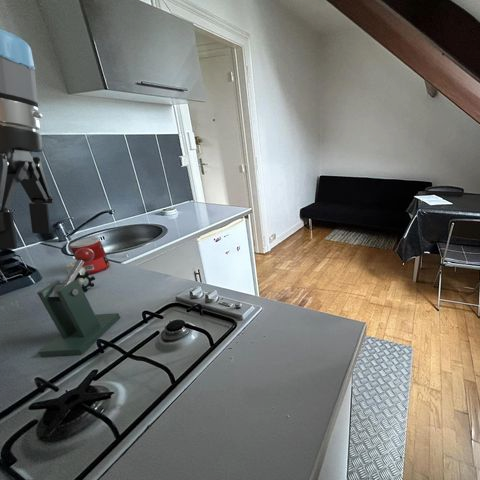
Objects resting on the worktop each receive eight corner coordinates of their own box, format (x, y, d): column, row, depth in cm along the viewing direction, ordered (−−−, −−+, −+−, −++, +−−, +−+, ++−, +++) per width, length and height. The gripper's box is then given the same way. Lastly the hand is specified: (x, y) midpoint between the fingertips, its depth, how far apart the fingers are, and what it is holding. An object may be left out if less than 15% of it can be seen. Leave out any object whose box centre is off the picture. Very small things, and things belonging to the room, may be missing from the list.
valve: (67, 283, 86) (71, 296, 78) (58, 265, 83) (62, 277, 75) (92, 275, 90) (99, 287, 82) (85, 258, 87) (90, 268, 80)
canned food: (114, 266, 95) (102, 239, 91) (87, 276, 89) (74, 247, 85) (105, 262, 99) (94, 235, 95) (79, 271, 93) (65, 243, 89)
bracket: (85, 319, 67) (62, 273, 62) (120, 317, 67) (99, 271, 62) (40, 357, 56) (7, 304, 51) (82, 354, 56) (53, 301, 51)
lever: (86, 253, 66) (75, 245, 63) (100, 252, 66) (90, 244, 63) (57, 302, 58) (42, 295, 55) (73, 301, 58) (59, 294, 55)
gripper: (-2, 119, 39) (17, 256, 43) (65, 138, 60) (73, 228, 65) (-82, 108, 35) (-53, 258, 40) (19, 132, 57) (31, 227, 61)
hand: (25, 239), depth 52 cm, fingers open, 13 cm apart
